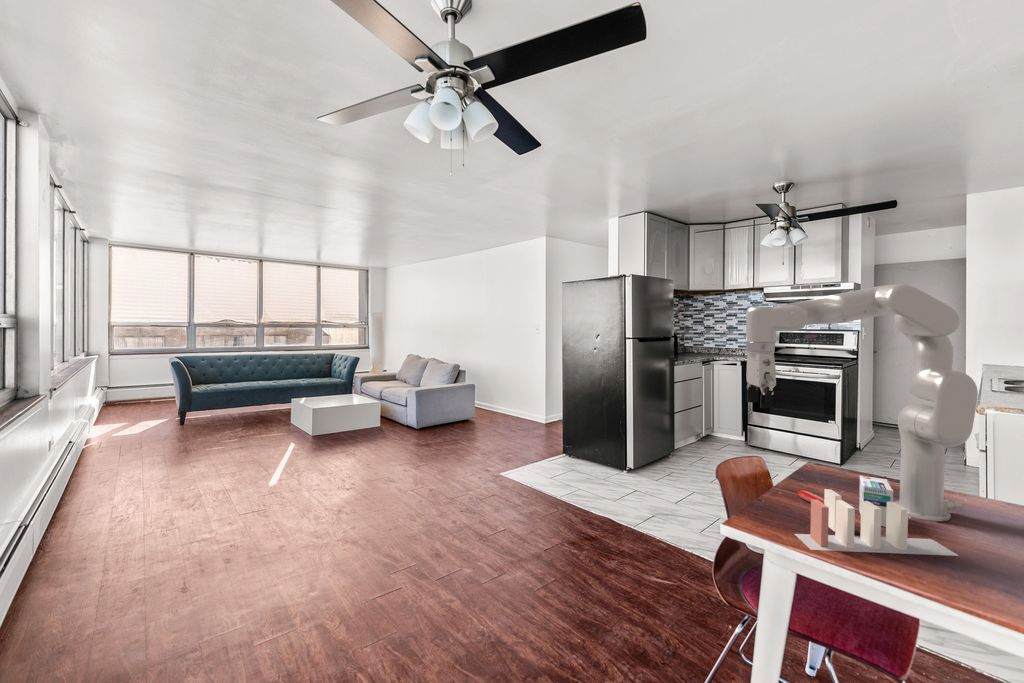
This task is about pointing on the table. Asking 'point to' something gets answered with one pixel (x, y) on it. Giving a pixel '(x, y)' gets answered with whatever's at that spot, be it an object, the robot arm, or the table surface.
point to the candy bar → (809, 496)
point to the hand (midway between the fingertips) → (759, 405)
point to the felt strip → (885, 547)
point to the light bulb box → (876, 494)
